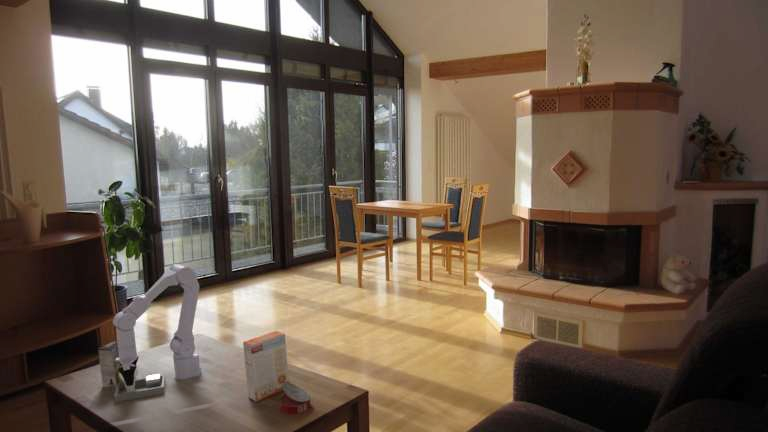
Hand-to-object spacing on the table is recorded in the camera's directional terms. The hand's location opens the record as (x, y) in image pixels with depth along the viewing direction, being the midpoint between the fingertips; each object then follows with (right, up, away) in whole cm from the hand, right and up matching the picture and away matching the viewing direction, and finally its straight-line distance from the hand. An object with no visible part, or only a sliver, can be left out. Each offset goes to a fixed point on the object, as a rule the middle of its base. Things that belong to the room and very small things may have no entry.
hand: (130, 381), depth 189 cm
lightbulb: (0, -5, 0) cm, 5 cm away
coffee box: (-10, -5, +10) cm, 15 cm away
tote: (+3, -5, +2) cm, 6 cm away
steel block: (+7, -4, +3) cm, 9 cm away
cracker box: (+50, -4, -2) cm, 50 cm away
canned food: (+62, -5, -12) cm, 63 cm away
